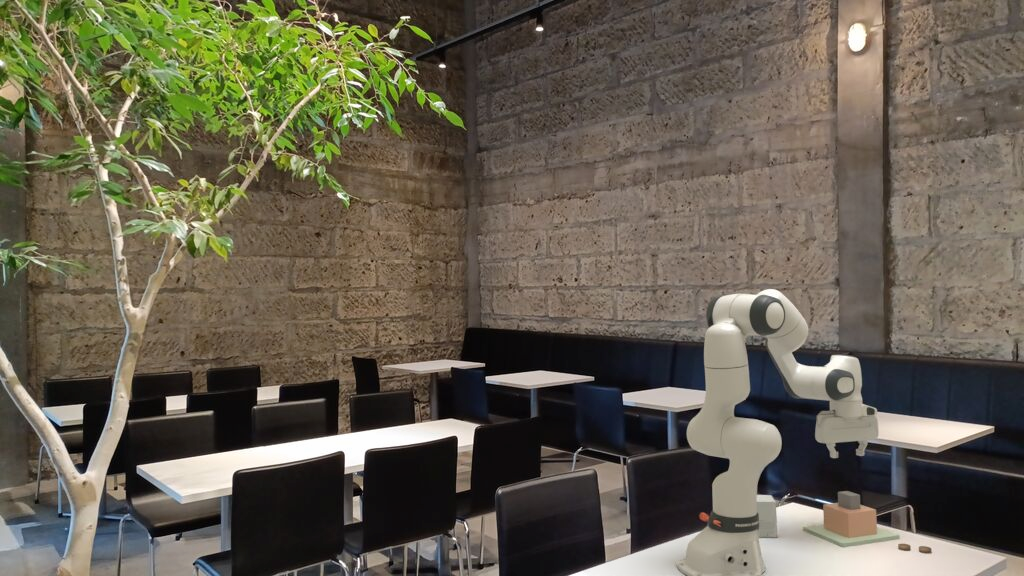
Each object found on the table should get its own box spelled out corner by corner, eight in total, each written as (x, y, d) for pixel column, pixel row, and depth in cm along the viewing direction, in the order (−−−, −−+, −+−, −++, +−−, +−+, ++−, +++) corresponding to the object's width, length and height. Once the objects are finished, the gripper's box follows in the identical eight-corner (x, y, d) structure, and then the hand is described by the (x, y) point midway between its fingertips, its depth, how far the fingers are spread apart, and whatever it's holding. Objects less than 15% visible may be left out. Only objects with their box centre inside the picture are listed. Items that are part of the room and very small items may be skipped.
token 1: (906, 552, 196) (906, 547, 196) (896, 549, 199) (895, 544, 199) (913, 550, 198) (912, 545, 198) (902, 547, 200) (902, 542, 200)
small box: (777, 538, 210) (776, 501, 210) (757, 537, 211) (756, 501, 211) (773, 529, 218) (772, 494, 218) (753, 529, 219) (752, 494, 219)
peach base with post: (849, 538, 205) (847, 499, 205) (824, 528, 215) (822, 491, 215) (877, 534, 208) (875, 495, 208) (851, 524, 218) (849, 487, 218)
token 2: (926, 555, 194) (926, 550, 194) (916, 551, 197) (916, 547, 197) (934, 553, 195) (934, 548, 195) (924, 549, 198) (924, 545, 198)
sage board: (842, 547, 201) (842, 543, 201) (803, 530, 216) (803, 527, 216) (899, 538, 207) (899, 535, 207) (857, 523, 222) (857, 519, 222)
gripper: (824, 412, 206) (826, 461, 206) (881, 409, 212) (883, 456, 212) (809, 409, 212) (810, 457, 212) (865, 406, 218) (866, 452, 218)
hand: (847, 456), depth 212 cm, fingers open, 8 cm apart
